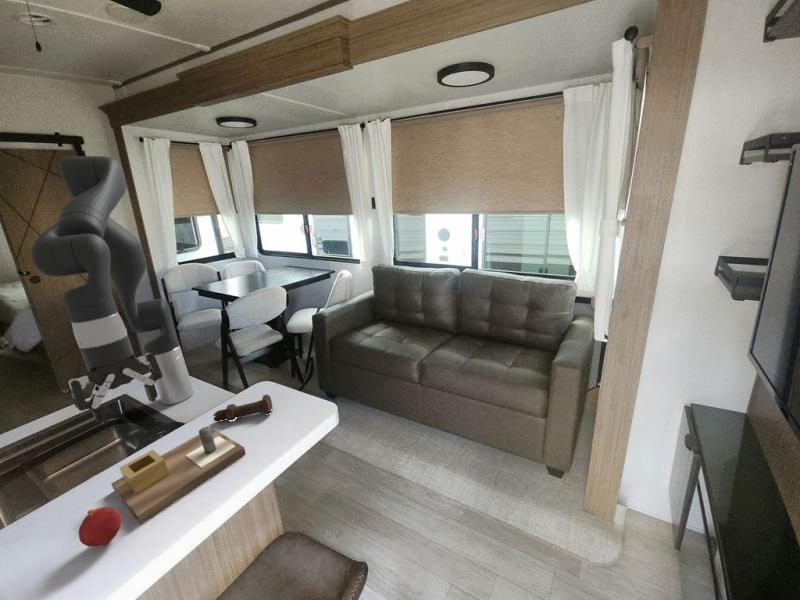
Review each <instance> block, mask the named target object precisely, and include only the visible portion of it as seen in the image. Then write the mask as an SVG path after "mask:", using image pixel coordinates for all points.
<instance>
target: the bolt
mask: <svg viewBox="0 0 800 600" xmlns="http://www.w3.org/2000/svg"><path fill="white" fill-rule="evenodd" d="M271 398H272V397H271V396H270V395H269V394H264V395H263V396H262V398H261V400H257V401H254V402H251V403H250V402H249V403H246V404H241V405H236V404H234V403H229V404H227V406H226V408H224V409H219V410H217V411H215V413H213V421H214V422H215V421H220V420H225V419H227V420H225V421H228V420H233V419H235V417H239V418H242V416H243V417H247V416H252V415H255V414H261V413H263V414H264V415H265V414H269V413H271V409H272V410H273V403H272V399H271ZM271 414H272V413H271Z"/></svg>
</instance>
